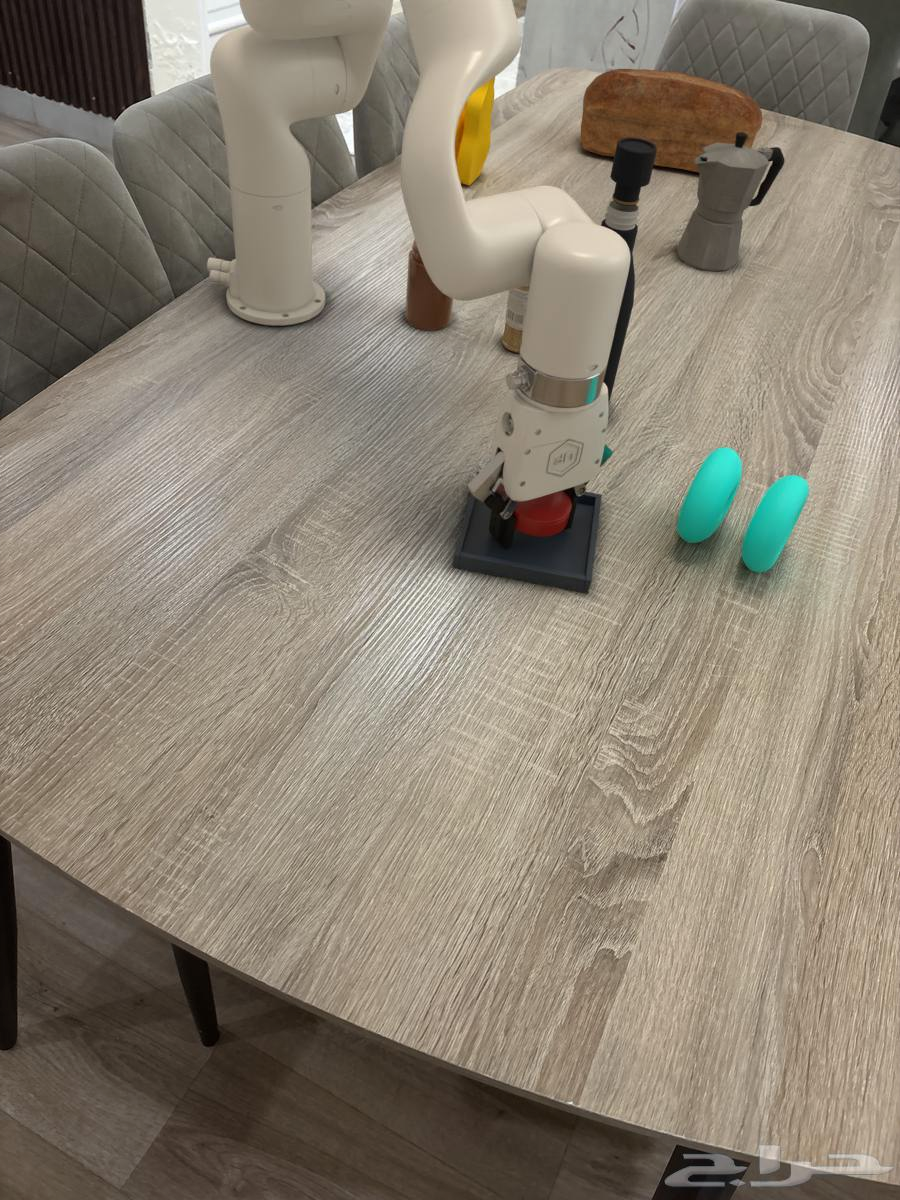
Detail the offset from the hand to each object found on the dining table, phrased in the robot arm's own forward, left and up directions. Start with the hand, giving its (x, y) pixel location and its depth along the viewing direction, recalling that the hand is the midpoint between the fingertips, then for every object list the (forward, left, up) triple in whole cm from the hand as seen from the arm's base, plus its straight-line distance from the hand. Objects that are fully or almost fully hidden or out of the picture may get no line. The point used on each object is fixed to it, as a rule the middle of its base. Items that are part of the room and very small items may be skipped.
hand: (530, 529), depth 94 cm
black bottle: (+3, +24, -1) cm, 24 cm away
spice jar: (-6, +36, -1) cm, 37 cm away
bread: (+10, +108, -1) cm, 108 cm away
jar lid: (0, 0, +4) cm, 4 cm away
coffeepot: (+19, +71, -1) cm, 74 cm away
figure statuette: (-22, +85, -1) cm, 88 cm away
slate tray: (0, 0, -1) cm, 1 cm away
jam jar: (-18, +39, -1) cm, 43 cm away
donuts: (+20, +4, -1) cm, 20 cm away
